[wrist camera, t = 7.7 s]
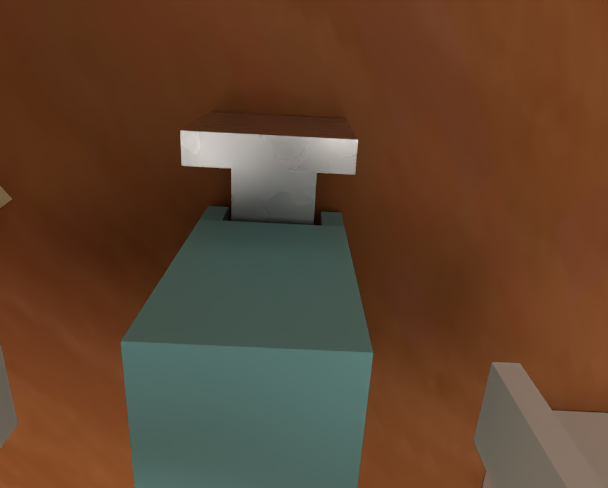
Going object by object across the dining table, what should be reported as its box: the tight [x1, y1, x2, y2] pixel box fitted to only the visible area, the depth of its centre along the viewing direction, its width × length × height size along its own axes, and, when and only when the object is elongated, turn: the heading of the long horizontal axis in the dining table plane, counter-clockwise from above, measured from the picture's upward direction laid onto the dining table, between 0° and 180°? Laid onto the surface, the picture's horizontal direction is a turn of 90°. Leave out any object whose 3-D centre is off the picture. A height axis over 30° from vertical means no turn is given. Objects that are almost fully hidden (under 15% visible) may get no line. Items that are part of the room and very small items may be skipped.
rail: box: [180, 112, 358, 225], centre depth 20 cm, size 24×5×5 cm, turn 177°
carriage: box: [121, 206, 373, 488], centre depth 16 cm, size 7×5×10 cm
